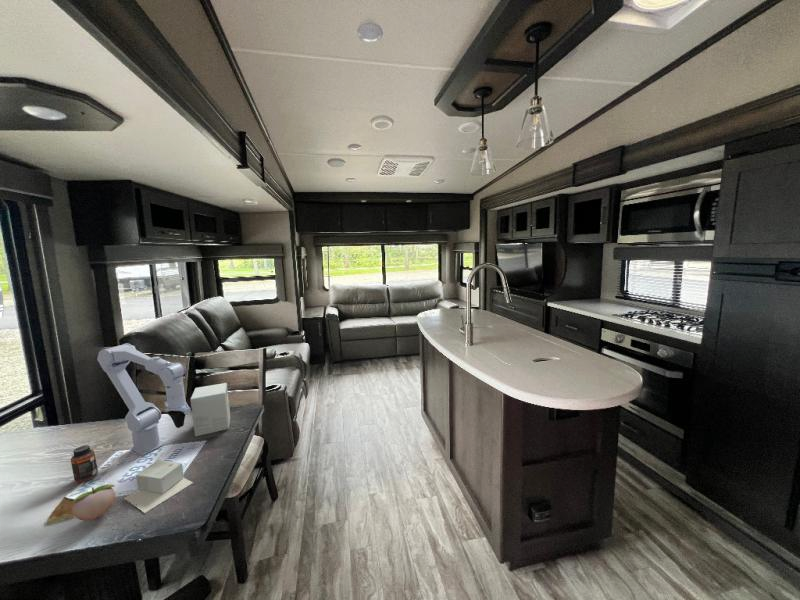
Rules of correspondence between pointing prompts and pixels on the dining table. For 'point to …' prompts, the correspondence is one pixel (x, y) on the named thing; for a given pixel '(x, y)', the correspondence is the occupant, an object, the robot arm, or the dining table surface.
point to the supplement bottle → (84, 464)
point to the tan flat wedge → (62, 511)
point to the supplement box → (210, 409)
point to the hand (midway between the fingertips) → (179, 426)
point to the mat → (155, 496)
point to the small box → (159, 476)
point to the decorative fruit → (94, 503)
